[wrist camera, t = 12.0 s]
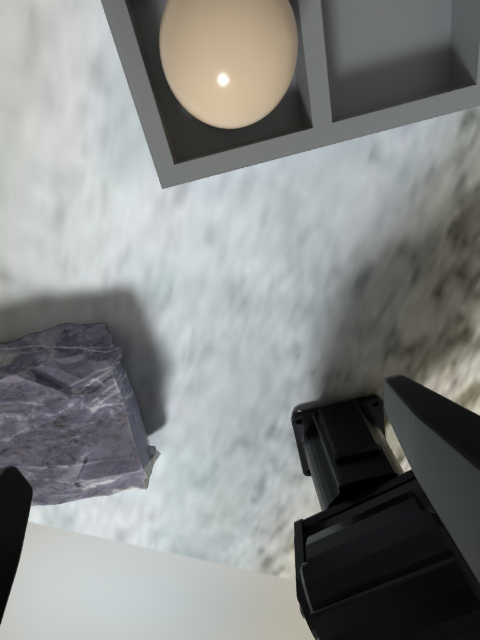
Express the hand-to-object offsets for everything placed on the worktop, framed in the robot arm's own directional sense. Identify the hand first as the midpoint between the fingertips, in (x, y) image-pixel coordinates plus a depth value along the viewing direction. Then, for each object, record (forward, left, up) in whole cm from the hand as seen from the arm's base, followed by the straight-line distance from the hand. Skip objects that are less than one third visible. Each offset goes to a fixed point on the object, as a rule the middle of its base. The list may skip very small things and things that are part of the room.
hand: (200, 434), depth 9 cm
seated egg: (+8, -3, -12) cm, 15 cm away
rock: (-8, +18, -14) cm, 24 cm away
